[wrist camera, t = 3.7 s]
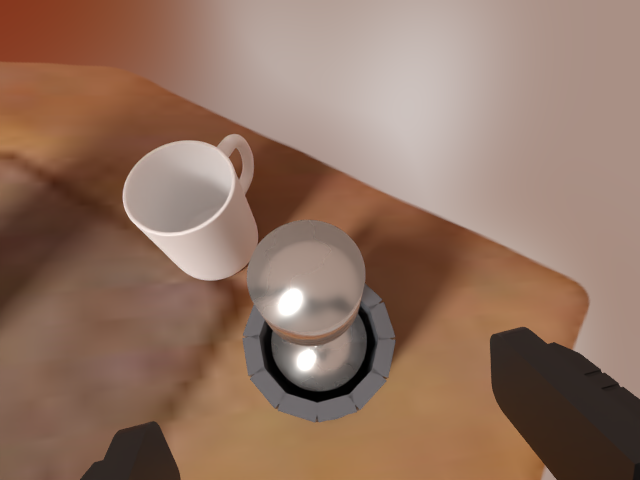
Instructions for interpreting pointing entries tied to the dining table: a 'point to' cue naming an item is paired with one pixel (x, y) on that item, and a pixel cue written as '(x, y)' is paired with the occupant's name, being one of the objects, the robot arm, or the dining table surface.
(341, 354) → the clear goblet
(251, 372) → the gray tankard
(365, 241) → the dining table surface
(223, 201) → the cup
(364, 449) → the dining table surface
